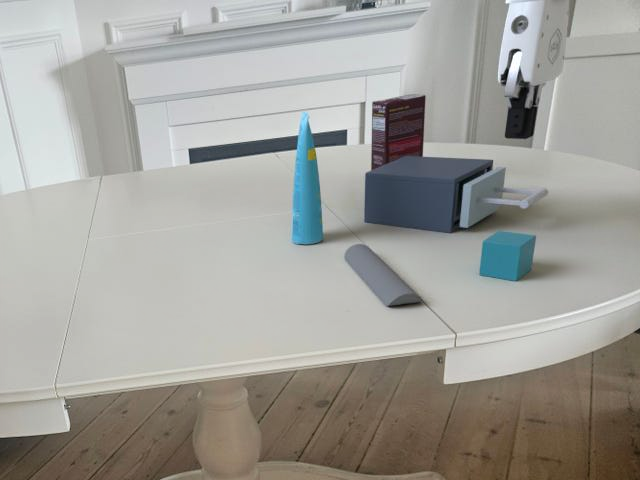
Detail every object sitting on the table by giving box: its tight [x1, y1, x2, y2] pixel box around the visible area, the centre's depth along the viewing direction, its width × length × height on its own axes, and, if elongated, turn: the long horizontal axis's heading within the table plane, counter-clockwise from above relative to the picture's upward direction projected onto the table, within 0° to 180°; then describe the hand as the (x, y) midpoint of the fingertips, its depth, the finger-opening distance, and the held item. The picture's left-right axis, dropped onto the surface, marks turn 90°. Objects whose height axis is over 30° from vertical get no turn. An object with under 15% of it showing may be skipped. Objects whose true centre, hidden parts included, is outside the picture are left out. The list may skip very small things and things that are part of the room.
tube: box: [291, 109, 324, 245], centre depth 96 cm, size 7×5×19 cm, turn 179°
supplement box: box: [370, 93, 427, 171], centre depth 119 cm, size 9×5×16 cm, turn 108°
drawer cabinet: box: [363, 156, 494, 234], centre depth 101 cm, size 15×13×8 cm
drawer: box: [454, 166, 549, 229], centre depth 97 cm, size 21×11×6 cm, turn 42°
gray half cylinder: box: [344, 243, 423, 307], centre depth 82 cm, size 4×20×2 cm, turn 1°
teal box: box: [478, 230, 537, 282], centre depth 78 cm, size 4×4×4 cm
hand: (518, 137), depth 88 cm, fingers closed
